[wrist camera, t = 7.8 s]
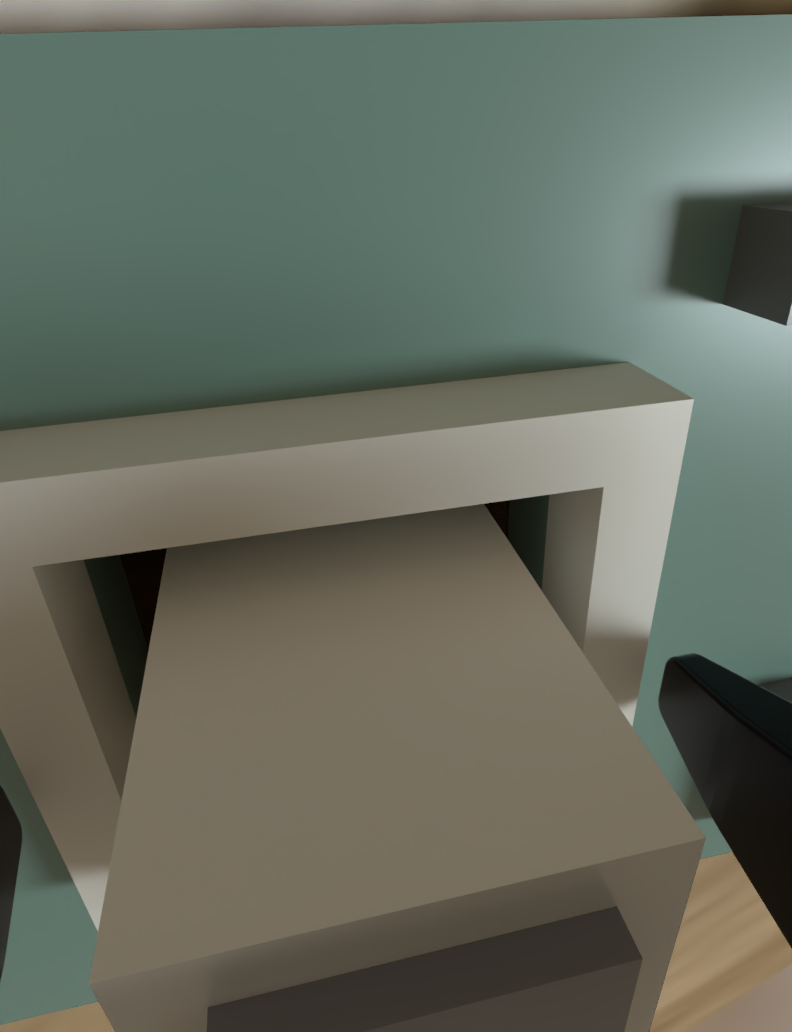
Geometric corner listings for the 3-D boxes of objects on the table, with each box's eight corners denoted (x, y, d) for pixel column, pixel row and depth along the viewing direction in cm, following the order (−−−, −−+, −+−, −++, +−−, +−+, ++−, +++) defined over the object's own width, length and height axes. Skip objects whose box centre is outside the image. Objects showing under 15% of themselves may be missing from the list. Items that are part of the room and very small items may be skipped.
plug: (455, 459, 11) (740, 888, 5) (456, 699, 14) (638, 1172, 8) (175, 498, 10) (76, 1053, 4) (236, 741, 13) (233, 1297, 7)
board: (1046, 24, 9) (1400, -26, 7) (776, 776, 17) (882, 903, 15) (-933, 81, 6) (-1978, 28, 3) (-150, 980, 14) (-251, 1197, 11)
